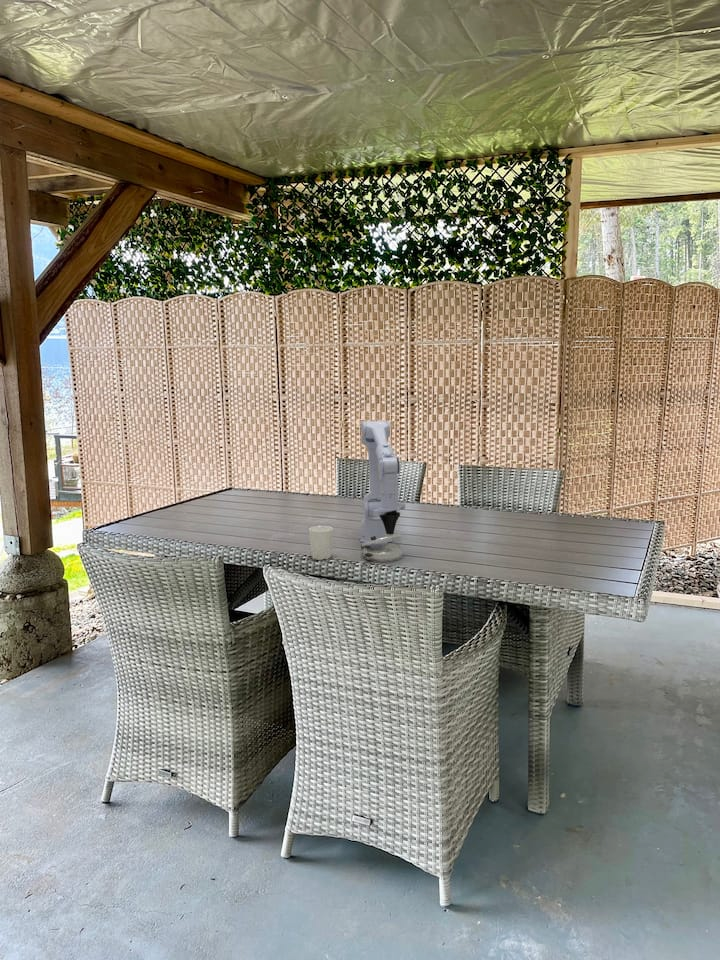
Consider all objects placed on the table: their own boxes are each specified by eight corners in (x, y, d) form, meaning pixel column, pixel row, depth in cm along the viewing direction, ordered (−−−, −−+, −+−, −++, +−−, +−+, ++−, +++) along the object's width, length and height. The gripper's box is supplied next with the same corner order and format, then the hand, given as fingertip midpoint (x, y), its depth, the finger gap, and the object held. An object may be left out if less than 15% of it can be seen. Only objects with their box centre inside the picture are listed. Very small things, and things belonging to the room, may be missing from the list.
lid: (354, 548, 231) (352, 542, 231) (380, 540, 241) (378, 534, 241) (383, 541, 222) (381, 534, 222) (409, 533, 232) (407, 526, 232)
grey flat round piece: (348, 557, 231) (348, 548, 231) (379, 547, 243) (378, 539, 243) (382, 565, 222) (382, 556, 221) (412, 554, 233) (412, 545, 233)
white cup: (338, 556, 233) (337, 528, 231) (321, 562, 227) (320, 532, 226) (321, 552, 238) (320, 524, 237) (305, 557, 232) (304, 529, 231)
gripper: (384, 498, 218) (385, 540, 220) (412, 491, 229) (412, 531, 231) (367, 495, 223) (368, 536, 225) (395, 489, 233) (396, 528, 236)
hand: (389, 533), depth 228 cm, fingers closed
